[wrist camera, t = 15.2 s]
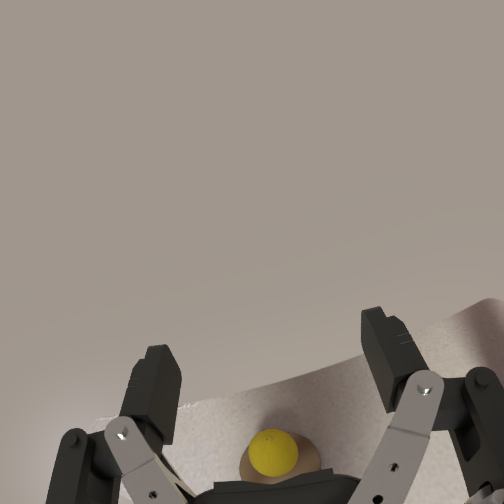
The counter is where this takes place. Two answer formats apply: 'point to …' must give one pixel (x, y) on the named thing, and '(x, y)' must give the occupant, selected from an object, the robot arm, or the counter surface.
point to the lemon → (273, 452)
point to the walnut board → (304, 464)
